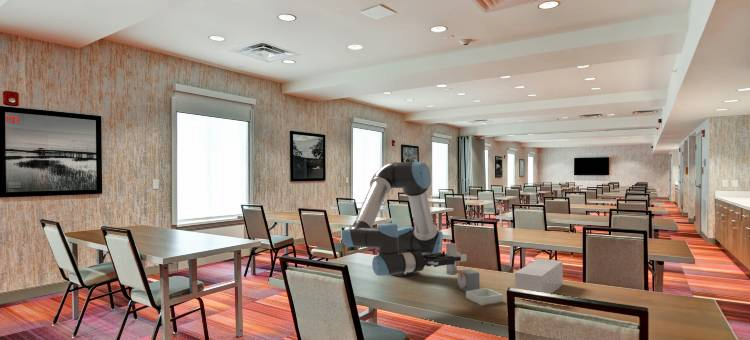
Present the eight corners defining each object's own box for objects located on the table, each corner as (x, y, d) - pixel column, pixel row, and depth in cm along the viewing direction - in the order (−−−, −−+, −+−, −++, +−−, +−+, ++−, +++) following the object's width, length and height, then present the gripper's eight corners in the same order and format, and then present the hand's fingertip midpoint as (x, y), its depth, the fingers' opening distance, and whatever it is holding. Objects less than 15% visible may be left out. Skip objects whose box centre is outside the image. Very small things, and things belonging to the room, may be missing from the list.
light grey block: (538, 281, 203) (538, 258, 203) (562, 284, 197) (562, 261, 197) (515, 298, 178) (514, 272, 178) (542, 303, 171) (541, 276, 171)
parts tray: (466, 298, 178) (465, 291, 178) (486, 295, 182) (486, 288, 182) (481, 305, 169) (481, 298, 168) (503, 302, 172) (503, 294, 172)
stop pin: (444, 273, 176) (444, 243, 176) (453, 272, 178) (452, 242, 178) (450, 275, 173) (449, 245, 173) (458, 274, 174) (458, 244, 174)
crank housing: (454, 289, 192) (454, 269, 192) (470, 286, 195) (469, 267, 195) (463, 293, 185) (463, 272, 185) (479, 291, 188) (479, 270, 188)
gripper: (402, 267, 176) (451, 261, 185) (422, 276, 161) (475, 269, 169) (401, 248, 176) (451, 243, 185) (422, 256, 160) (475, 250, 169)
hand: (462, 256), depth 177 cm, fingers closed on stop pin, 4 cm apart
